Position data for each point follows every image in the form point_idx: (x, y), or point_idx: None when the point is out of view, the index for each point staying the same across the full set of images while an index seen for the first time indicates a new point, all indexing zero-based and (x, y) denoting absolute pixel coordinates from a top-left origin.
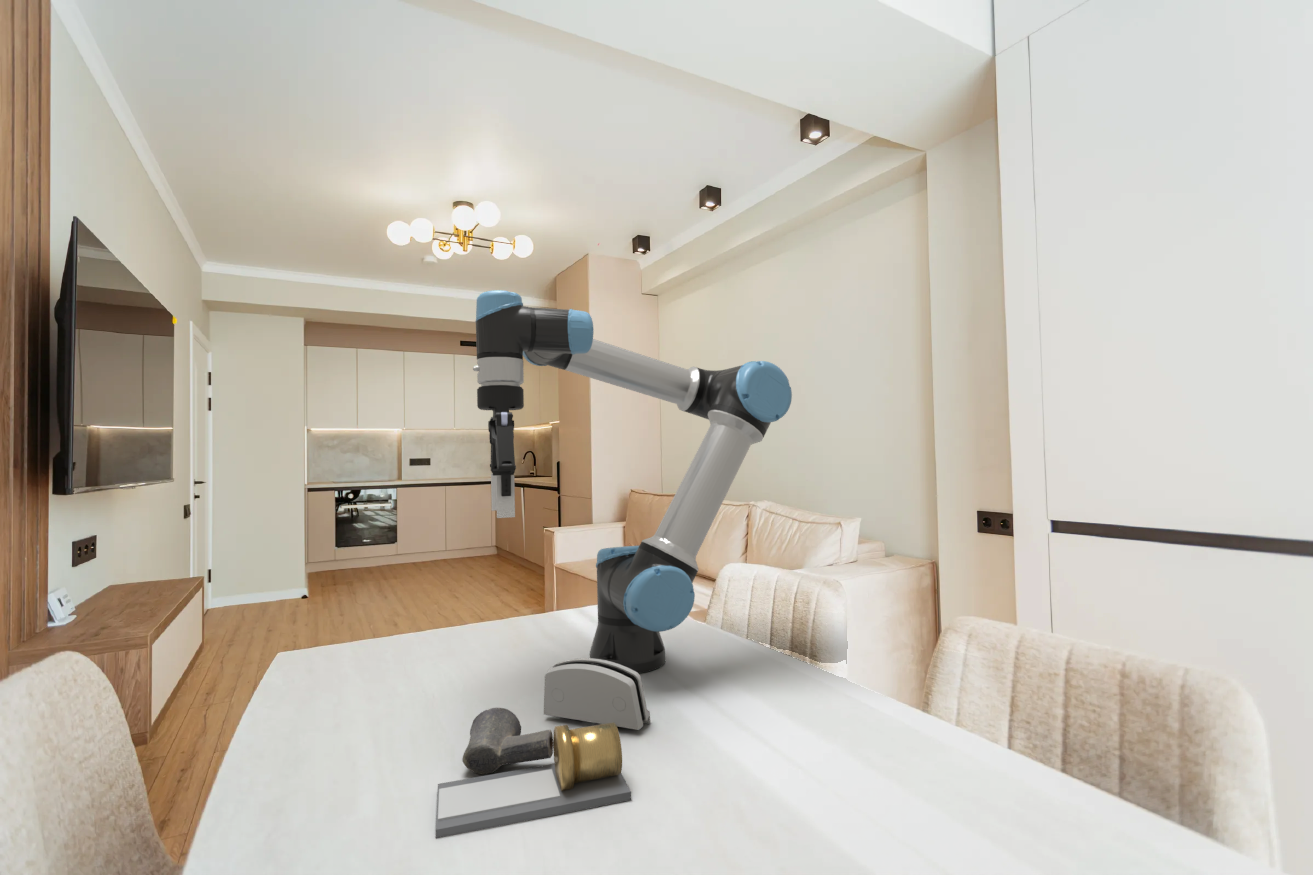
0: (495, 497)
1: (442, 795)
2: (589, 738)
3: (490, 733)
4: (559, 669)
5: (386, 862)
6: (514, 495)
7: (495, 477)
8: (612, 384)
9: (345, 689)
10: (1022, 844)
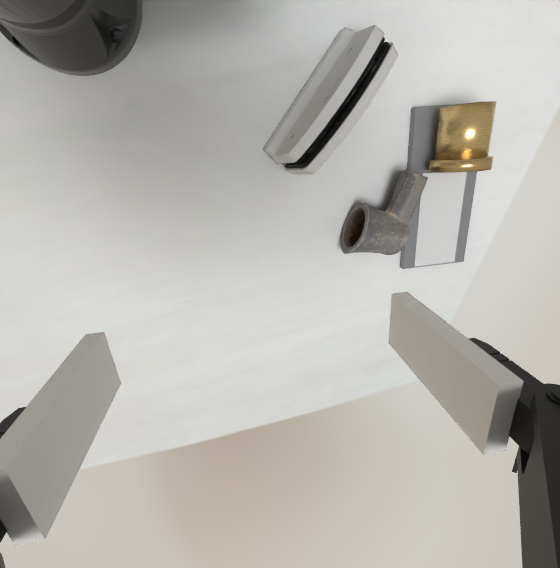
0: (98, 407)
1: (425, 262)
2: (489, 137)
3: (397, 234)
4: (330, 153)
5: (468, 284)
6: (451, 327)
7: (51, 495)
8: None
9: (147, 392)
10: None
